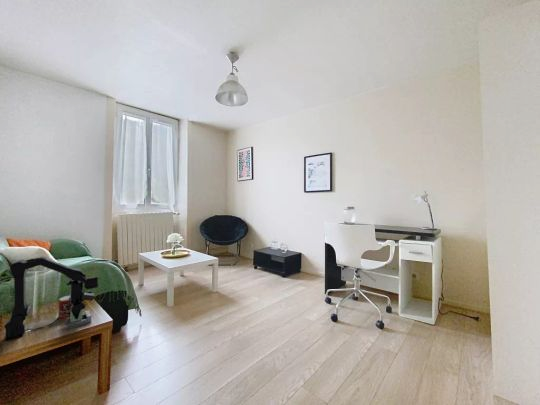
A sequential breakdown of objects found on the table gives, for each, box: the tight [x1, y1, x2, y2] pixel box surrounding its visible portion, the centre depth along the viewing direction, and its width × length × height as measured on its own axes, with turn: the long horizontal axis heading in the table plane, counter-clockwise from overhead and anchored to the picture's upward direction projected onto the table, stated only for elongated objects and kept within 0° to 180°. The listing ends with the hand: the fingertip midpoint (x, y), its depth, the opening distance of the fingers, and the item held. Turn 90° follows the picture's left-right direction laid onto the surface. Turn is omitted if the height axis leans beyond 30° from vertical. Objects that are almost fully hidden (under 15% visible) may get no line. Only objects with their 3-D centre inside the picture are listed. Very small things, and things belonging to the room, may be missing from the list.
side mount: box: [65, 309, 92, 330], centre depth 140 cm, size 11×10×4 cm
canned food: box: [58, 295, 71, 319], centre depth 149 cm, size 8×8×11 cm
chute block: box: [70, 309, 83, 323], centre depth 140 cm, size 5×5×7 cm
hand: (76, 317), depth 140 cm, fingers closed on chute block, 5 cm apart
